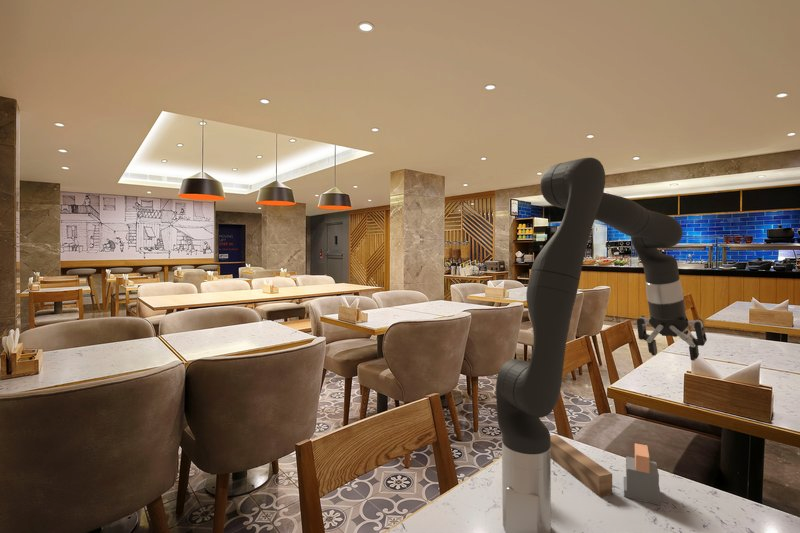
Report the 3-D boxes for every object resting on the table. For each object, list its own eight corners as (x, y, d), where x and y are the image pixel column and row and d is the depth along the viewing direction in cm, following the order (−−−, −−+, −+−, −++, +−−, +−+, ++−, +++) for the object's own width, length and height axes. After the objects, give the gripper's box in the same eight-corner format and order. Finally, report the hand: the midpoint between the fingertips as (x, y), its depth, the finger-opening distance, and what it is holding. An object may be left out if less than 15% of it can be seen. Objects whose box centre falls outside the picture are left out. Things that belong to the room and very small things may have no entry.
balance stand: (661, 505, 86) (661, 460, 85) (624, 496, 89) (624, 452, 89) (658, 490, 91) (658, 447, 91) (623, 482, 94) (623, 441, 94)
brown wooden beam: (612, 495, 90) (612, 473, 90) (599, 498, 89) (599, 476, 89) (556, 452, 109) (555, 434, 109) (544, 454, 108) (544, 436, 108)
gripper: (628, 301, 102) (637, 359, 105) (695, 303, 91) (704, 368, 94) (638, 291, 107) (647, 347, 109) (703, 292, 96) (711, 354, 98)
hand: (673, 356), depth 102 cm, fingers open, 8 cm apart
